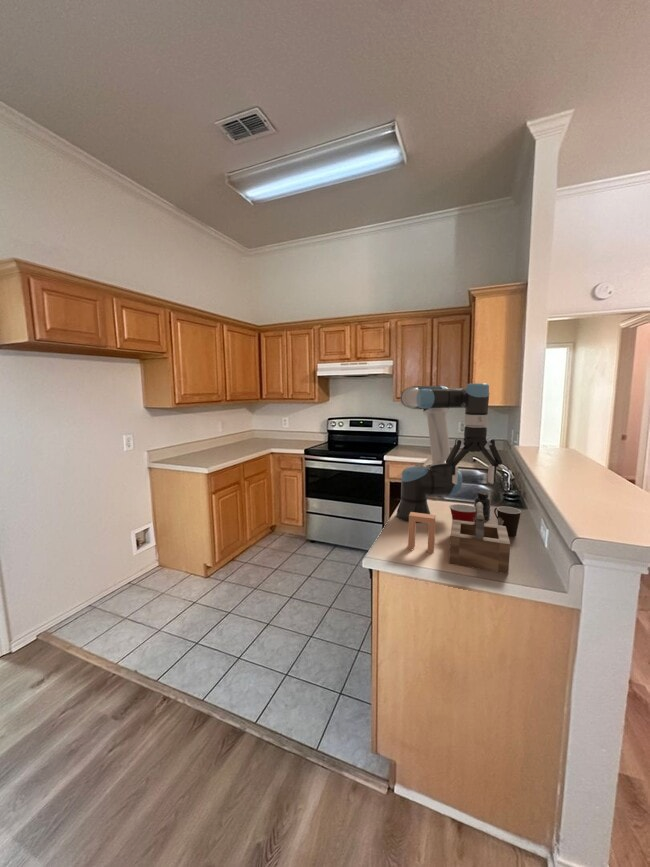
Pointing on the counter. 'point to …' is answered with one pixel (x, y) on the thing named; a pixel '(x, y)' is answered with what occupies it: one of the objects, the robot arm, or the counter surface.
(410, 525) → the block
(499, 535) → the open wooden box
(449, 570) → the counter surface
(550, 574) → the counter surface
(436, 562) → the counter surface
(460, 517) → the plastic cup
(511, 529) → the coffee mug
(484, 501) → the supplement bottle
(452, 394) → the robot arm
